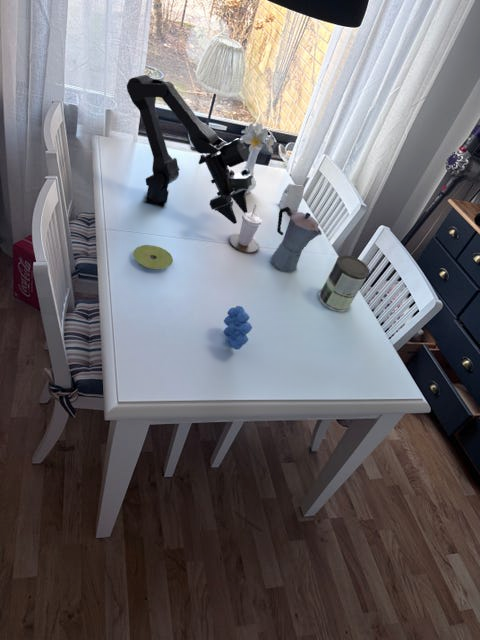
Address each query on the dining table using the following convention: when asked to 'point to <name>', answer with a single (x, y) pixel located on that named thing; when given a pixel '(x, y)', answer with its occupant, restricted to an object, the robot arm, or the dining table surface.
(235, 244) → the disc
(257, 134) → the flower vase
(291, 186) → the white carton
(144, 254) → the green grainy disc
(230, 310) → the grapes
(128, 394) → the dining table surface
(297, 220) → the moka pot
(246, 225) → the smoothie
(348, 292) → the coffee can
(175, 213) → the dining table surface
